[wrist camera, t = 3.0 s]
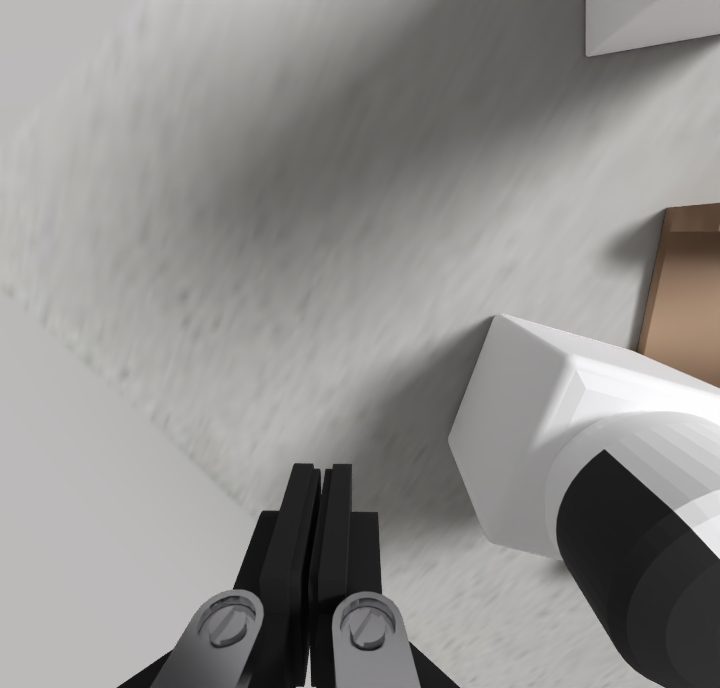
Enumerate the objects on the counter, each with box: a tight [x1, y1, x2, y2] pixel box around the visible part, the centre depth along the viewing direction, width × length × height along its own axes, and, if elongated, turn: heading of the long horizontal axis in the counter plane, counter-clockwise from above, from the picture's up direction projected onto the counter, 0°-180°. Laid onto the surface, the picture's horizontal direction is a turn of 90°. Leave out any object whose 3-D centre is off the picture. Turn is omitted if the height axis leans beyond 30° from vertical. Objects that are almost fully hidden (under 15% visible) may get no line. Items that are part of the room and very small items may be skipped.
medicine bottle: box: [448, 314, 720, 688], centre depth 14 cm, size 7×7×12 cm
